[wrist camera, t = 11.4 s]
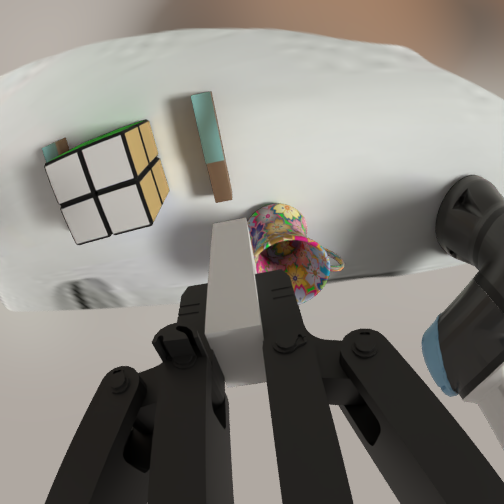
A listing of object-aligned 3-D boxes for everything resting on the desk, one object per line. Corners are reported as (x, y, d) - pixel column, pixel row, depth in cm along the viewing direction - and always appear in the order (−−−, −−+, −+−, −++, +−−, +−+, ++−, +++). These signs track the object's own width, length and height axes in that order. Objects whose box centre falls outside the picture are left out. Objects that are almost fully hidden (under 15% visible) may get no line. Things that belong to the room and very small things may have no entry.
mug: (238, 257, 43) (242, 307, 34) (244, 196, 38) (249, 234, 29) (319, 260, 44) (340, 307, 35) (332, 202, 40) (362, 240, 31)
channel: (211, 91, 31) (210, 91, 28) (232, 191, 38) (232, 200, 35) (54, 142, 31) (42, 148, 29) (83, 226, 38) (74, 236, 35)
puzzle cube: (105, 210, 38) (75, 247, 29) (81, 143, 32) (41, 165, 24) (170, 191, 37) (154, 226, 29) (149, 118, 32) (122, 130, 23)
